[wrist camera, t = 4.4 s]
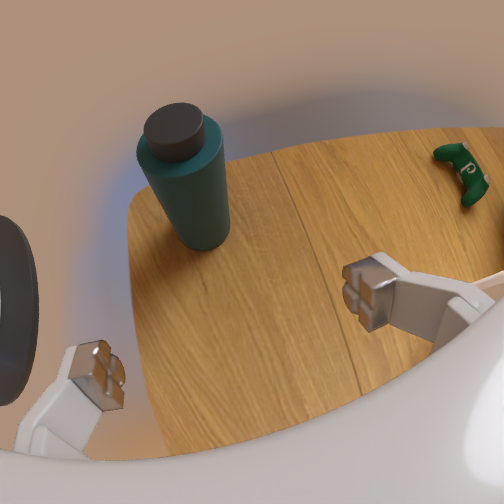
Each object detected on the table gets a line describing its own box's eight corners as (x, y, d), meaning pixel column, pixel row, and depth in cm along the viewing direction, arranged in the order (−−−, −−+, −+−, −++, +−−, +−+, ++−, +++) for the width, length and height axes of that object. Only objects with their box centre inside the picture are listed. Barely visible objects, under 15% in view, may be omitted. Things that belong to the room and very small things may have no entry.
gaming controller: (463, 211, 30) (492, 192, 26) (466, 207, 27) (497, 187, 23) (432, 158, 32) (460, 140, 29) (431, 150, 29) (461, 130, 26)
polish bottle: (181, 255, 24) (125, 169, 11) (175, 208, 26) (130, 104, 13) (234, 245, 25) (228, 146, 12) (224, 197, 26) (214, 85, 13)
